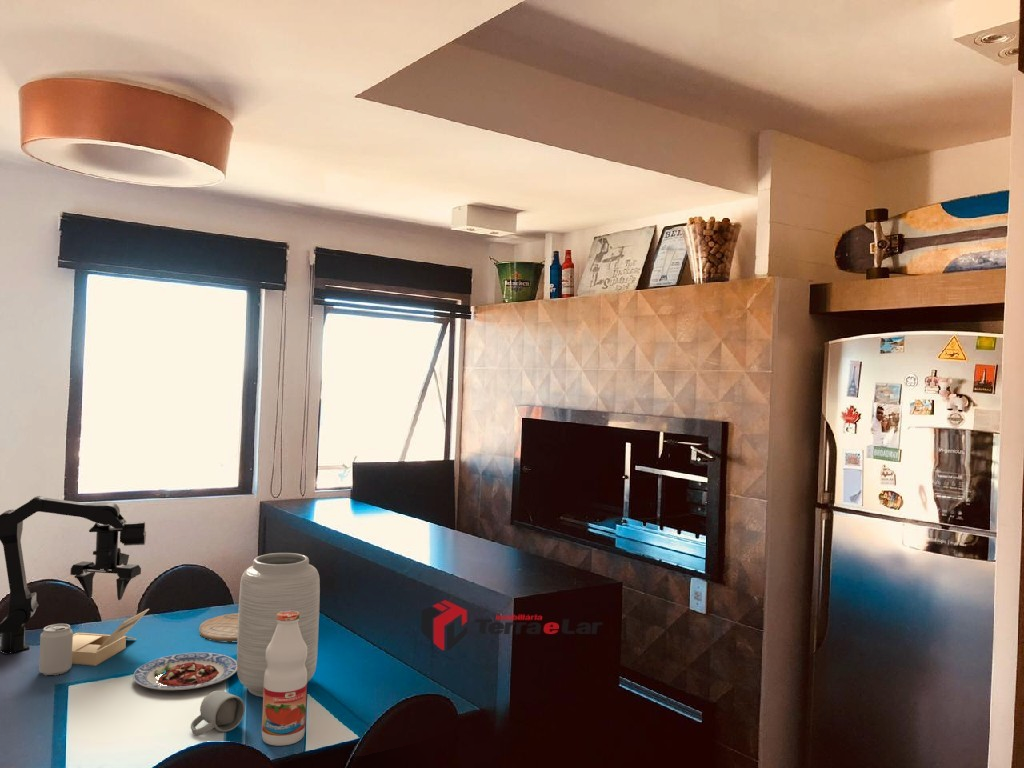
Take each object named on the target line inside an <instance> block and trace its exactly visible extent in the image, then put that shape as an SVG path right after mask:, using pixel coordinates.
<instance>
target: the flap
mask: <svg viewBox="0 0 1024 768" xmlns="http://www.w3.org/2000/svg"><path fill="white" fill-rule="evenodd" d="M149 610H150V608H147V609H145V610H144V611H142V612H140V613H137V614H136V615H134V616H132V617H130V618H128V619H126V620H123V622H121V624H120V625H119V626H118V627H117V628H116V629H115V630H114V631H113V632H112V633H111V634H109V635H110V636H109V637H108V639H107V640H106V641H105V642H104V643H103V644H102V645H101V646H100V647H99V648H98V649H97V650H99V649H101V648H103V647H105V646H106V645H108V644H110V643H112V642H114V641H115V640H117V639H119V638H121V637H123V636H126V635H127V633H128V632H129V631H130V630H131V629H132V628H133V627H134V626H135V625H136V624H137V623H138V622H139V621H140V620H141V619H142V618H143V617H144V615H146V613H148V611H149Z"/></svg>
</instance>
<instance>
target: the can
mask: <svg viewBox="0 0 1024 768" xmlns="http://www.w3.org/2000/svg"><path fill="white" fill-rule="evenodd" d="M42 630H43V631H42V632H41V633H40V637H39V639H40V640H39V662H38V663H39V665H38V671H39V673H41V674H42V673H43V674H45V675H44V676H47V675H54V676H59V674H60V675H62V674H65V673H67V672H68V671H69V670H70V669H71V668H72V667H73V666H72V665H73V664H72V643H73V633H74V632H73V629H72V628H71V625H70V624H67V623H53V624H50V625H47V626H45V627H43V629H42ZM43 674H42V675H43Z"/></svg>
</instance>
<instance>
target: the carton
mask: <svg viewBox="0 0 1024 768" xmlns="http://www.w3.org/2000/svg"><path fill="white" fill-rule="evenodd" d="M110 635H111V634H105V633H102V634H101V633H91V632H89V633H88V632H76V633H74V634H73V643H72V665H79V664H82V665H81V666H93V667H95V666H98V665H100V664H101V663H103V662H104V661H106V660H108V659H110V658H111V657H113V656H115V655H116V654H118V653H119V652H122V651H124V650H125V649H126V644H127V640H137V638H135V637H130V636H127V635H124V636H123V637H121V638H119V639H117V640H115V641H114V642H112V643H110V644H108V645H106V646H105V647H103V648H101V649H99V650H97V649H98V648H99V647H100V646H101V645H102V644H103V643H104V642H105V641H106V640H107V639H108V637H109V636H110Z"/></svg>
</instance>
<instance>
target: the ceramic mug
mask: <svg viewBox="0 0 1024 768" xmlns="http://www.w3.org/2000/svg"><path fill="white" fill-rule="evenodd" d="M245 706H246V705H245V702H244V700H243V699H242V698H241V697H240V696H238V695H235V694H232V693H229V692H227V691H224V690H214V691H211V692H209V693H208V694H207V695H205V696H204V698H203V700H202V701H201V704H200V707H199V713H200V714H199V715H198V716H196V718H194V719H193V720H192V722H191V724H190V729H191V732H192V734H194V735H195V736H199V735H200V736H201V735H205V734H206V733H208V732H210V731H211V730H213V729H216V730H218V731H219V732H224V733H226V732H230V731H233V730H234V729H235V728H236V727H238V725H239V724H240V723H241V722H242V720H243V718H244V716H245V711H246V710H245V709H246V707H245ZM203 721H204V722H206V725H204V726H201V727H200V728H196V727H197V726H199V724H200V723H201V722H203Z"/></svg>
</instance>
